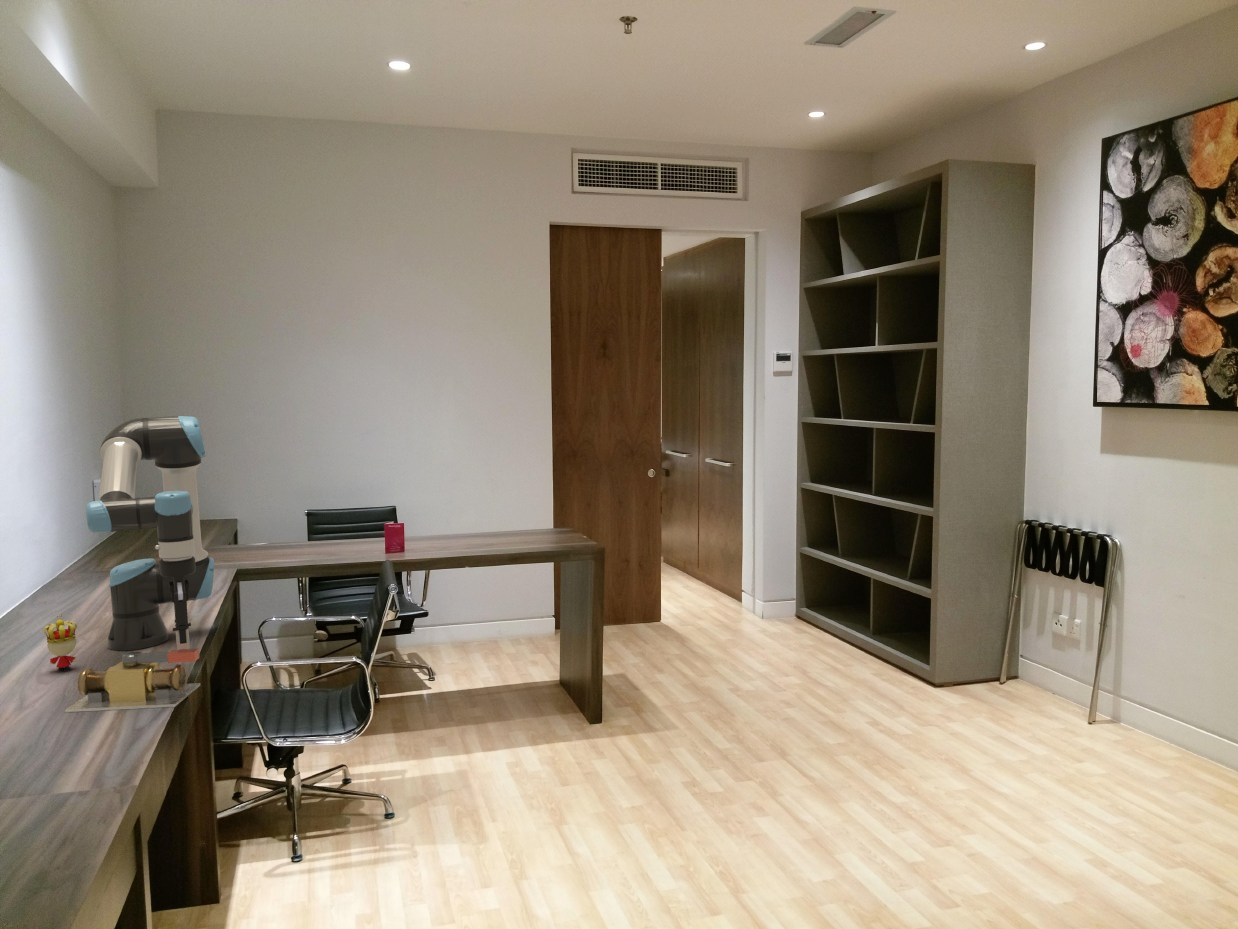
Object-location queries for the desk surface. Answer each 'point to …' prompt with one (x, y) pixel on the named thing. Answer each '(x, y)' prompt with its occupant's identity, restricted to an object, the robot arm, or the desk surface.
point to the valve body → (132, 687)
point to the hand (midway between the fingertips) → (183, 655)
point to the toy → (61, 643)
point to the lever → (160, 657)
